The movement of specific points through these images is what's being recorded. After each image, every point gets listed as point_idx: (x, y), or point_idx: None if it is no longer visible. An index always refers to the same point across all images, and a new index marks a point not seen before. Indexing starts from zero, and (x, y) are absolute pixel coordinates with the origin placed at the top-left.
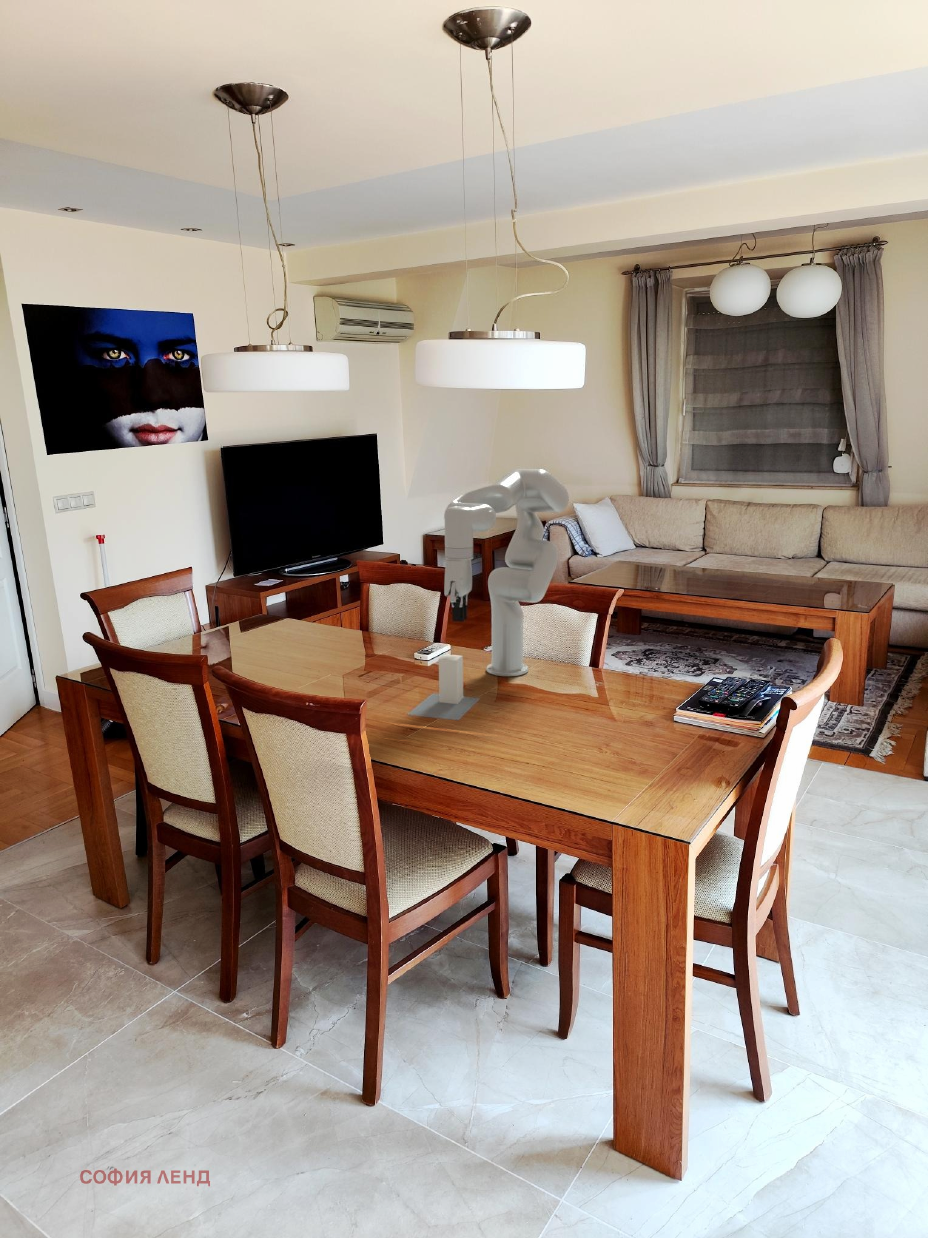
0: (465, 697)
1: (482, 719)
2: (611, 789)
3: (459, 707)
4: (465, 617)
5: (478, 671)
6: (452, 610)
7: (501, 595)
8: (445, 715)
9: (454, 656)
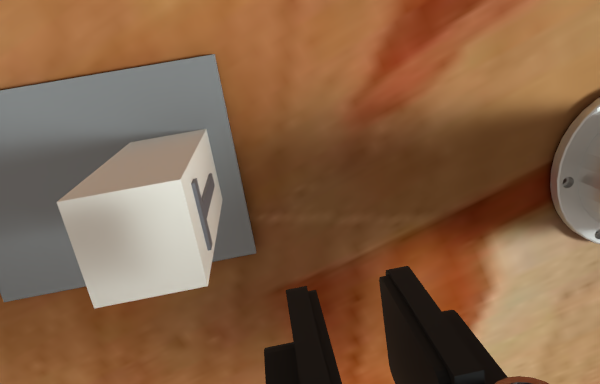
0: (235, 202)
1: (94, 338)
2: None
3: None
4: (397, 381)
5: (592, 62)
6: (299, 366)
7: None
8: (15, 240)
9: (165, 254)
